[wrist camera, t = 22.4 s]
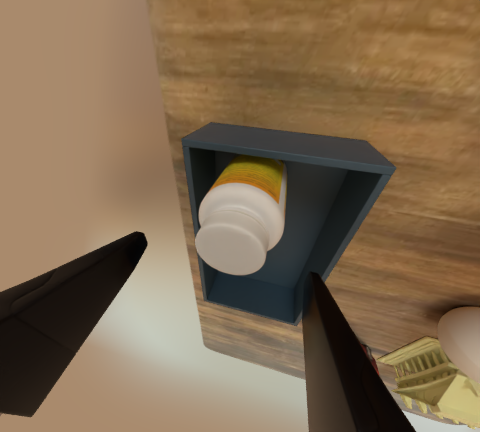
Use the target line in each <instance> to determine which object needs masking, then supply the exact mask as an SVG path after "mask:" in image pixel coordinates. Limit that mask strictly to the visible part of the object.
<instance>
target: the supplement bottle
mask: <svg viewBox="0 0 480 432" xmlns="http://www.w3.org/2000/svg"><path fill="white" fill-rule="evenodd" d="M286 195H287V168H286V165H285V163H284V161H283V160H278V159H271V158H264V157H257V156H250V155H243V154H236V155H235V156H234V157H233V159H232V160H231V161H230V163H229V164H228V166H227V167H226V168H225V170H224V171H223V172H222V174H221V175H220V176H219V178H218V179H217V181H216V182H215V183H214V185H213V186H212V187H211V189H210V190H209V192H208V193H207V194H206V196H205V197H204V199H203V201H202V202H201V205H200V208H199V222H200V225H201V228H200V230H199V231H198V233H197V235H196V238H195V246H196V250H197V252H198V254H199V255H200V257H201V258H202V259H203V260H204V261H205V262H206V263H207V264H208V265H210V266H211V267H213V268H215V269H217V270H219V271H221V272H224V273H227V274H232V275H247V274H251V273H254V272H256V271H258V270H259V269H260V268H261V267H262V266H263V264H264V263H265V260H266V254H267V251H269V250H270V249H272V248H273V247H274V246H275V245H276V244H277V243H278V242H279V240H280V239H281V237H282V234H283V231H284V224H285V209H286Z"/></svg>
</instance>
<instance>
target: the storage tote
mask: <svg viewBox="0 0 480 432" xmlns="http://www.w3.org/2000/svg"><path fill="white" fill-rule="evenodd" d="M181 140H182V146H183V154H184V162H185V169H186V176H187V183H188V190H189V198H190V205H191V212H192V219H193V226H194V234H195V238H196V235H197V233H198V231H199V230H200V228H201V225H200V222H199V208H200V205H201V202H202V201H203V199H204V197H205V196H206V194H207V193H208V192H209V190H210V189H211V187H212V186H213V185H214V183H215V182H216V181H217V179H218V178H219V176H220V175H221V174H222V172H223V171H224V170H225V168H226V167H227V166H228V164H229V163H230V161H231V160H232V159H233V157H234V156H235V155H236V154H243V155H250V156H257V157H264V158H271V159H278V160H283V161H284V163H285V165H286V168H287V195H286V209H285V224H284V231H283V234H282V237H281V239H280V240H279V242H278V243H277V244H276V245H275V246H274V247H273V248H272V249H270V250H269V251H267V254H266V260H265V263H264V264H263V266H262V267H261V268H260V269H259V270H258V271H256V272H254V273H251V274H247V275H232V274H227V273H224V272H221V271H219V270H217V269H215V268H213V267H211V266H210V265H208V264H207V263H206V262H205V261H204V260H203V259H202V258H201V257H200V255H199V254H198V252H197V255H198V262H199V270H200V277H201V284H202V291H203V298H204V301H206V302H210V303H213V304H217V305H221V306H224V307H228V308H232V309H235V310H239V311H243V312H247V313H250V314H254V315H258V316H261V317H265V318H269V319H272V320H276V321H280V322H283V323H287V324H291V325H294V326H297V325H298V323H299V322H300V320H301V319H302V307H303V289H304V281H305V279H306V277H307V275H308V273H309V272H310V271H312V272H316V273H318V274H319V275H320V276H321V278H322V280H323V281H324V282H325V281H326V279H327V277H328V276H329V274H330V273H331V271H332V270H333V268H334V266H335V265H336V263H337V262H338V260H339V258H340V257H341V255H342V254H343V252H344V251H345V249H346V247H347V246H348V244H349V243H350V241H351V239H352V238H353V236H354V235H355V233H356V231H357V230H358V228H359V227H360V225H361V224H362V222H363V220H364V219H365V217H366V216H367V214H368V212H369V211H370V209H371V208H372V206H373V205H374V203H375V201H376V200H377V198H378V197H379V195H380V193H381V192H382V190H383V189H384V187H385V186H386V184H387V182H388V181H389V179H390V178H391V175H392V174H393V173H394V171H395V170H396V167H395V166H394V165H393V164H392V163H391V162H390V161H388V160H387V159H386V158H385V157H384V156H383V155H382V154H381V153H379V152H378V151H377V150H376V149H375V148H374V147H373V146H372V145H370V144H369V143H368V142H367V141H365V140H357V139H348V138H339V137H331V136H322V135H314V134H305V133H297V132H288V131H280V130H271V129H263V128H254V127H246V126H237V125H229V124H220V123H212V122H211V123H209V124H207V125H205V126H203V127H202V128H200V129H198V130H196V131H194V132H193V133H191V134H189V135H187V136H185V137H184V138H182V139H181Z"/></svg>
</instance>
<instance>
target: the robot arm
mask: <svg viewBox="0 0 480 432" xmlns="http://www.w3.org/2000/svg"><path fill="white" fill-rule="evenodd" d="M146 247H147V240H146V237H145V235H144V233H142V232H137V231H136V232H133V233H131V234H129V235H127V236H125V237H122V238H120V239H118V240H116V241H114V242H112V243H110V244H108V245H105V246H103V247H101V248H99V249H97V250H94V251H92V252H90V253H88V254H86V255H84V256H81V257H79V258H77V259H75V260H73V261H71V262H69V263H66V264H64V265H62V266H60V267H58V268H56V269H53V270H51V271H49V272H47V273H44V274H42V275H40V276H38V277H36V278H33V279H31V280H29V281H26V282H24V283H21V284H19V285H17V286H14V287H12V288H9V289H7V290H5V291H2V292H0V415H1V414H2V413H4V414H11V415H19V416H26V417H32V416H33V415H34V413H35V412H36V411H37V409H38V408H39V407H40V405H41V404H42V402H43V401H44V399H45V398H46V397H47V395H48V394H49V392H50V391H51V389H52V388H53V386H54V385H55V383H56V382H57V380H58V379H59V378H60V376H61V375H62V373H63V372H64V370H65V369H66V368H67V366H68V365H69V363H70V362H71V360H72V359H73V357H74V356H75V355H76V353H77V352H78V350H79V349H80V347H81V346H82V344H83V343H84V341H85V340H86V339H87V337H88V336H89V334H90V333H91V331H92V330H93V328H94V327H95V326H96V324H97V323H98V321H99V320H100V318H101V317H102V315H103V314H104V312H105V311H106V310H107V308H108V307H109V305H110V304H111V302H112V301H113V300H114V298H115V297H116V295H117V294H118V292H119V291H120V290H121V288H122V287H123V285H124V284H125V282H126V281H127V279H128V278H129V276H130V275H131V273H132V272H133V271H134V269H135V267H136V265H137V264H138V262H139V260H140V258H141V256H142V255H143V253H144V251H145V249H146ZM302 324H303V341H304V358H305V374H306V390H307V408H308V424H309V432H416V431H415V429H414V428H413V426H412V425H411V423H410V422H409V421H408V419H407V418H406V416H405V415H404V413H403V412H402V410H401V409H400V407H399V406H398V404H397V403H396V401H395V400H394V398H393V397H392V395H391V394H390V392H389V391H388V389H387V388H386V386H385V384H384V383H383V381H382V379H381V378H380V376H379V375H378V373H377V371H376V370H375V368H374V366H373V365H372V363H371V361H370V359H369V358H368V357H366V356H367V355H366V353H365V351H364V349H363V348H362V346H361V344H360V343H359V341H358V339H357V338H356V336H355V334H354V332H353V331H352V329H351V327H350V326H349V324H348V322H347V321H346V319H345V317H344V315H343V314H342V312H341V310H340V309H339V307H338V305H337V304H336V302H335V300H334V298H333V297H332V295H331V293H330V292H329V290H328V288H327V287H326V285H325V283H324V281H323V280H322V278H321V276H320V275H319V274H318V273H316V272H312V271H310V272H309V273H308V275H307V277H306V279H305V281H304V289H303V307H302Z"/></svg>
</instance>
